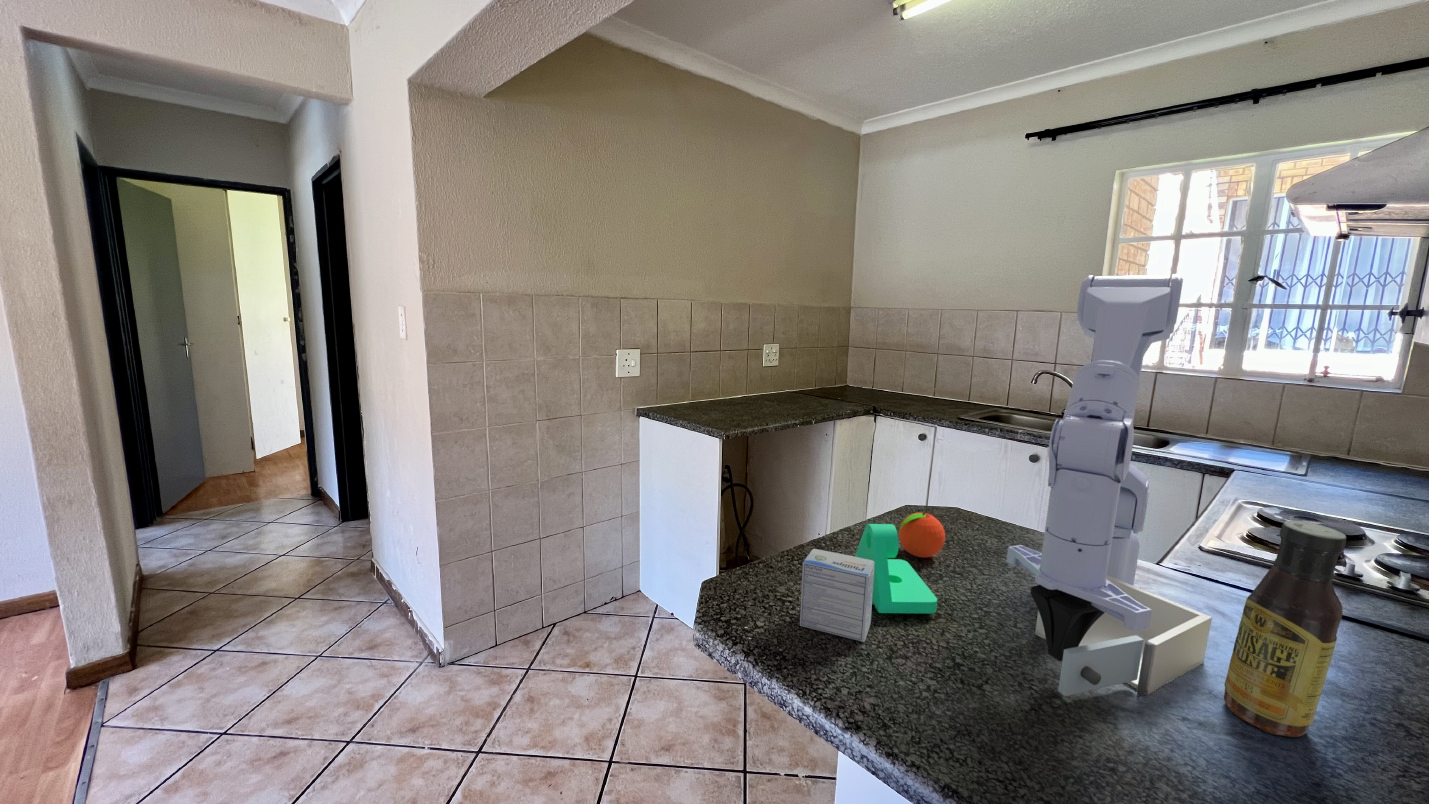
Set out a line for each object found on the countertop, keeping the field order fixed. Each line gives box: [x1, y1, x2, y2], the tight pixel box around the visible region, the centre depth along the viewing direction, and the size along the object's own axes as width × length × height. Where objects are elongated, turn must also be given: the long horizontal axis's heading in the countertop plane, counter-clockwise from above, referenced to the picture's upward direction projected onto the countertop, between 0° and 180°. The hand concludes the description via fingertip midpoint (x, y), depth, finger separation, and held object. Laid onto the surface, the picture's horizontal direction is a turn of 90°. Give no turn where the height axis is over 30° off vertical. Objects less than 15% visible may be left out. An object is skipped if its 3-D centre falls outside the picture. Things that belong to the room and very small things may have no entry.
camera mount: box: [854, 523, 938, 614], centre depth 76 cm, size 12×8×10 cm, turn 2°
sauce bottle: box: [1223, 520, 1347, 738], centre depth 53 cm, size 6×6×20 cm
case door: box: [1057, 635, 1144, 697], centre depth 56 cm, size 2×10×5 cm, turn 107°
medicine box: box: [799, 548, 875, 643], centre depth 68 cm, size 8×4×9 cm, turn 65°
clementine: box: [898, 512, 946, 558], centre depth 88 cm, size 8×7×7 cm
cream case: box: [1034, 575, 1213, 696], centre depth 65 cm, size 13×12×6 cm
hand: (1060, 655), depth 59 cm, fingers closed
